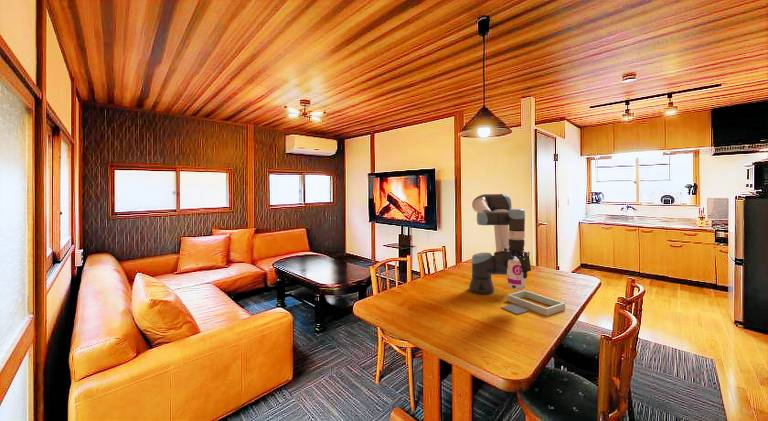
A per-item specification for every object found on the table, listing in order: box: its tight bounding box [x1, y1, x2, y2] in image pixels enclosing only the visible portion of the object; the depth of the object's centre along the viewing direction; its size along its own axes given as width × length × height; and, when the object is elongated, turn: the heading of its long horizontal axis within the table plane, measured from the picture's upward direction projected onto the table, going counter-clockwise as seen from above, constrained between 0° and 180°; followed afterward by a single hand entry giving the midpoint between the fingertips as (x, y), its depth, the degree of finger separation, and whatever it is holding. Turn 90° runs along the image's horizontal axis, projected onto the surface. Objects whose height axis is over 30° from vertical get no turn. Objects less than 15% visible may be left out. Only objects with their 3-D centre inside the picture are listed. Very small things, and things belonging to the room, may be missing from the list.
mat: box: [501, 303, 532, 316], centre depth 160 cm, size 10×10×1 cm
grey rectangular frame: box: [506, 289, 566, 317], centre depth 165 cm, size 24×15×4 cm, turn 28°
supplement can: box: [507, 258, 526, 291], centre depth 158 cm, size 8×8×15 cm
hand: (516, 281), depth 158 cm, fingers closed on supplement can, 8 cm apart
